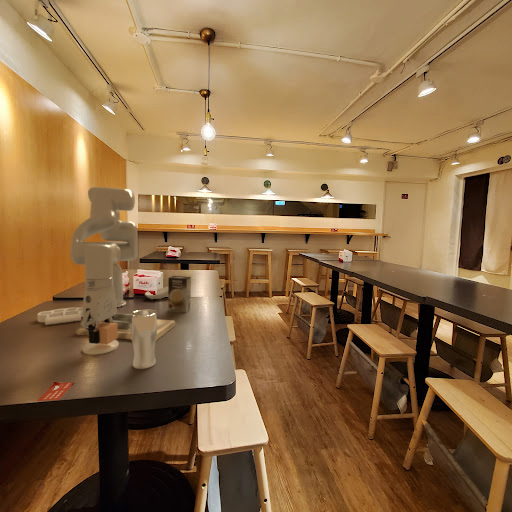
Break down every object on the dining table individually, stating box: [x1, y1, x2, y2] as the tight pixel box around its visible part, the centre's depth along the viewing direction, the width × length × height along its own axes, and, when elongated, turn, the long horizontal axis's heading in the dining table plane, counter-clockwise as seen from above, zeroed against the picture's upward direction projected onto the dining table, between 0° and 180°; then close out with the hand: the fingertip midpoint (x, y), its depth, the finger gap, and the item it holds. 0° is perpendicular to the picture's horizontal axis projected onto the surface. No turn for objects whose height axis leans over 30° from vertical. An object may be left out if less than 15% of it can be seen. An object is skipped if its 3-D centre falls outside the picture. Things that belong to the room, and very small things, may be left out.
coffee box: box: [167, 275, 192, 313], centre depth 128 cm, size 9×6×16 cm
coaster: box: [82, 339, 120, 356], centre depth 87 cm, size 10×10×1 cm
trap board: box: [75, 312, 176, 341], centre depth 102 cm, size 30×16×4 cm, turn 82°
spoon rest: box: [144, 286, 168, 300], centre depth 153 cm, size 24×12×7 cm, turn 120°
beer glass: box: [130, 309, 158, 370], centre depth 76 cm, size 7×7×15 cm
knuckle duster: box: [36, 306, 83, 326], centre depth 113 cm, size 3×18×15 cm
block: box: [93, 322, 119, 344], centre depth 86 cm, size 6×5×5 cm
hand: (100, 338), depth 86 cm, fingers closed on block, 5 cm apart
